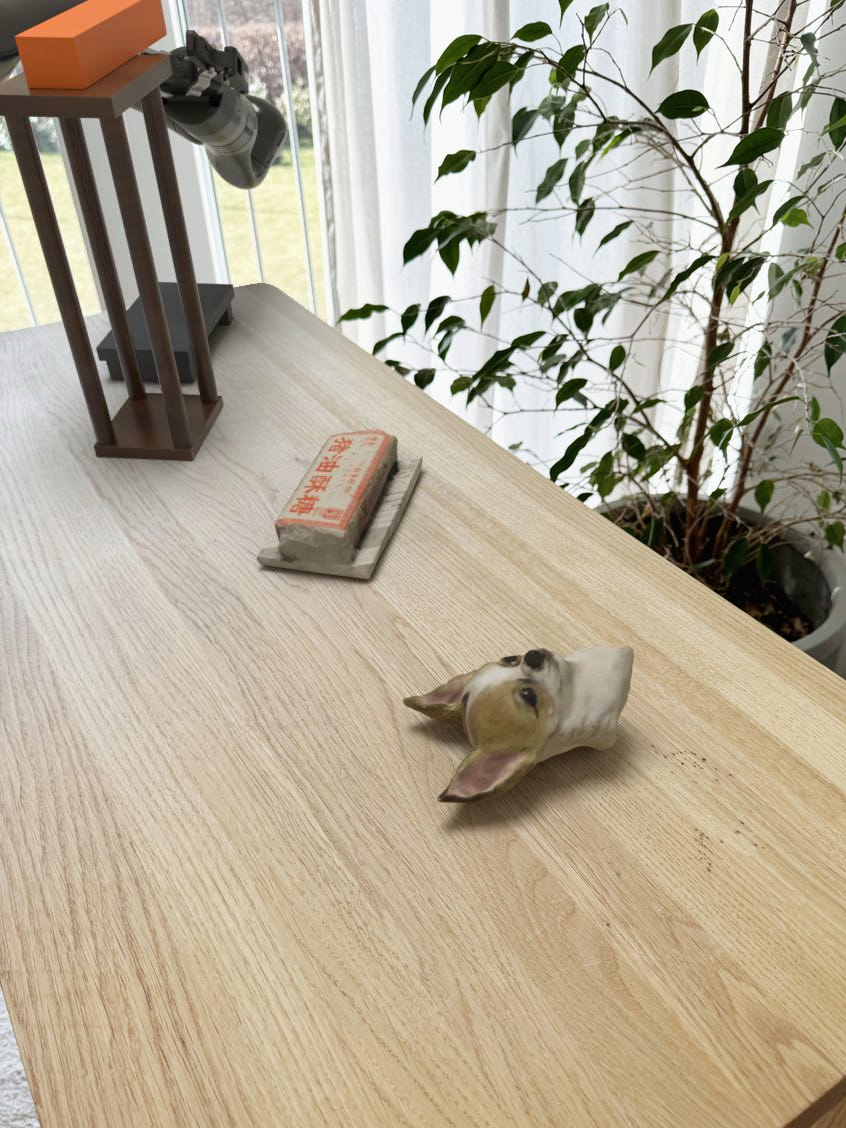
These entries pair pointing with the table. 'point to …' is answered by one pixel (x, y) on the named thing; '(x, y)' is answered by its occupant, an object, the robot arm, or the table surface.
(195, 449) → the tall stand
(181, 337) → the low shelf
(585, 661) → the ceramic sculpture
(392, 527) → the packaged product
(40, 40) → the orange block
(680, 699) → the table surface
